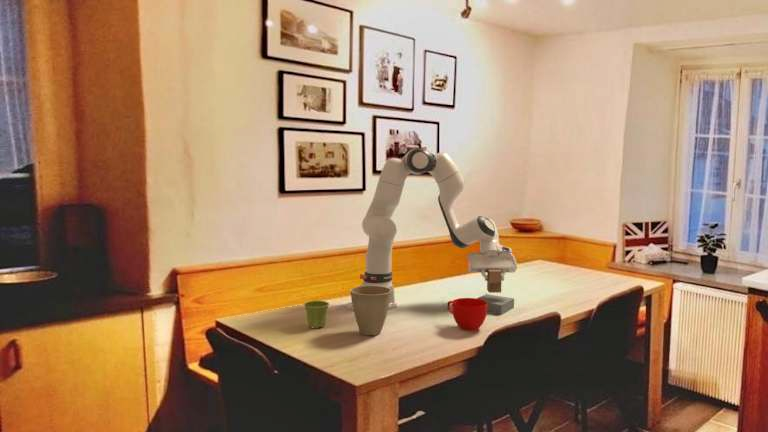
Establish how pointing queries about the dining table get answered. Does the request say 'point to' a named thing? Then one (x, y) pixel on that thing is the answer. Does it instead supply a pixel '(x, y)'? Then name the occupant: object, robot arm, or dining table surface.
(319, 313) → the plant pot
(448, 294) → the dining table surface
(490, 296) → the charcoal plinth
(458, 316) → the ceramic cup
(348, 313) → the dining table surface
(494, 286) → the walnut post
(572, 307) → the dining table surface
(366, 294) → the plant pot
